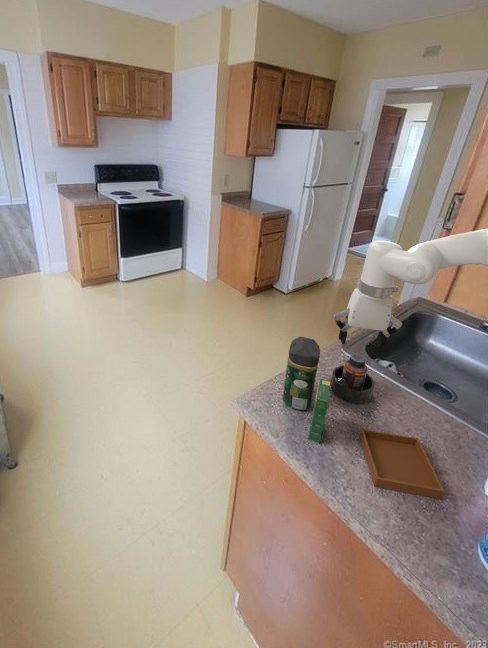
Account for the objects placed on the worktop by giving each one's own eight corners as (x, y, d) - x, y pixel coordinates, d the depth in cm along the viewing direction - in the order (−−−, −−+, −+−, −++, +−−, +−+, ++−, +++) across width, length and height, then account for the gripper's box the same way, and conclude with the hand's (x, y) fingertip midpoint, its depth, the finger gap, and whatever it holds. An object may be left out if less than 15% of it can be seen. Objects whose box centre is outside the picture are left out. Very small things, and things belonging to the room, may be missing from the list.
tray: (415, 445, 78) (418, 437, 77) (441, 499, 66) (445, 491, 65) (358, 435, 80) (360, 428, 79) (374, 486, 68) (376, 478, 67)
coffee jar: (284, 383, 97) (292, 331, 90) (311, 391, 94) (322, 337, 87) (280, 406, 88) (288, 350, 82) (309, 415, 86) (321, 358, 79)
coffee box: (311, 416, 86) (319, 377, 81) (323, 420, 84) (331, 380, 80) (307, 440, 79) (315, 398, 74) (319, 444, 78) (328, 402, 73)
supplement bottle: (365, 392, 94) (374, 360, 90) (352, 399, 91) (361, 367, 87) (348, 379, 99) (355, 349, 95) (335, 386, 96) (342, 355, 92)
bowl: (365, 380, 99) (368, 368, 98) (376, 407, 89) (379, 394, 87) (327, 374, 101) (329, 363, 99) (333, 401, 91) (336, 388, 89)
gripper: (405, 286, 85) (389, 340, 91) (337, 279, 88) (325, 332, 94) (417, 299, 78) (398, 357, 84) (342, 291, 81) (330, 347, 87)
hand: (360, 344), depth 89 cm, fingers open, 9 cm apart
